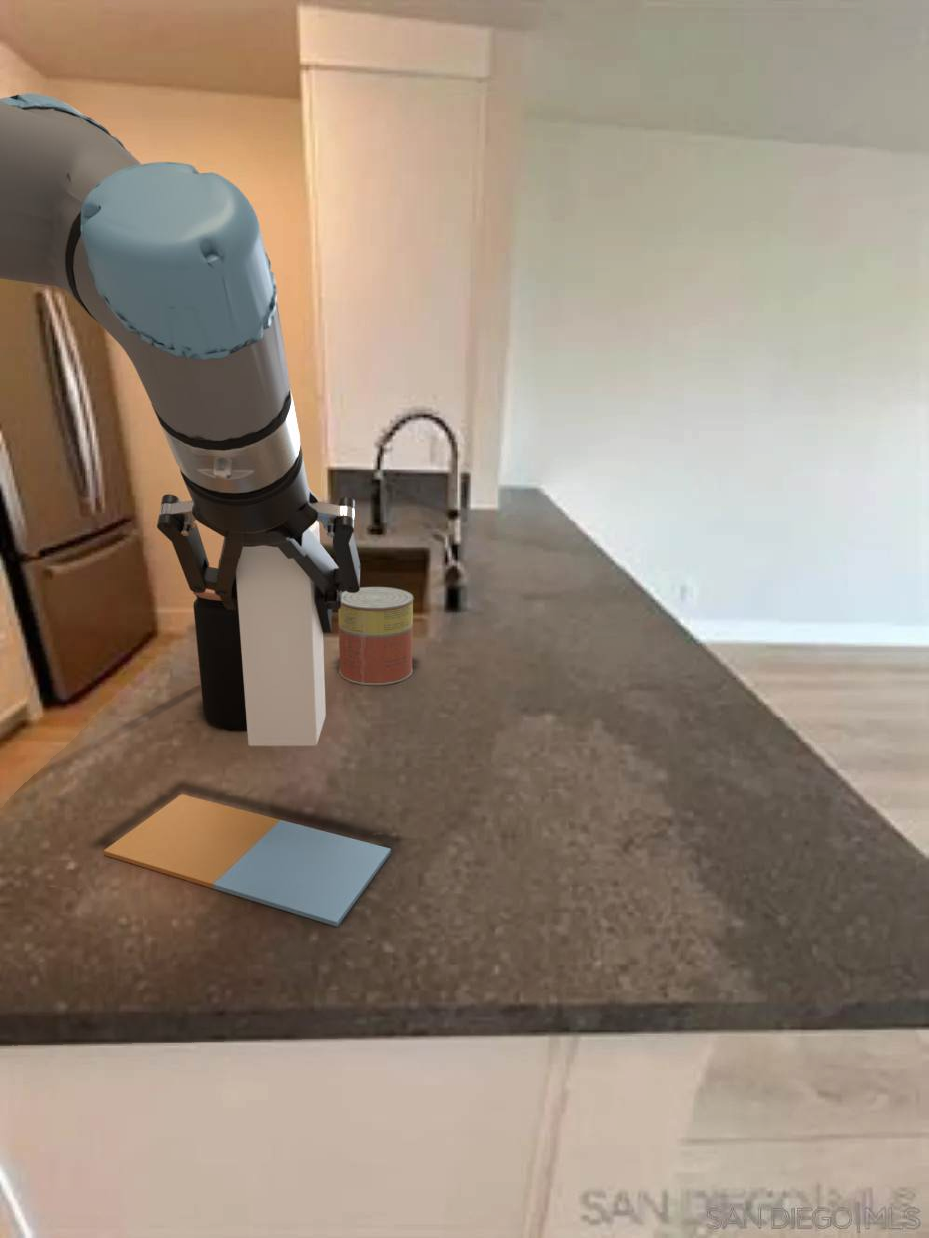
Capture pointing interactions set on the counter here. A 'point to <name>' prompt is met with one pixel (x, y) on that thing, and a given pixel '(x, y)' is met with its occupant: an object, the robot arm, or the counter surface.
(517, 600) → the counter surface
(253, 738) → the milk
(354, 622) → the canned food
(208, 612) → the coffee jar
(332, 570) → the robot arm
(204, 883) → the sorting board
